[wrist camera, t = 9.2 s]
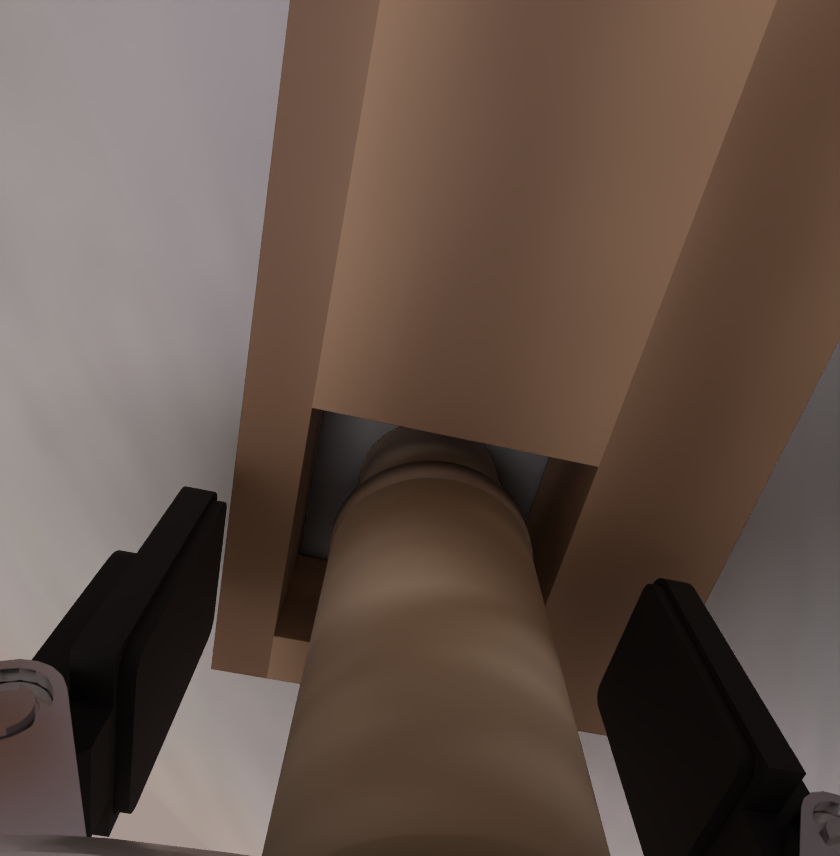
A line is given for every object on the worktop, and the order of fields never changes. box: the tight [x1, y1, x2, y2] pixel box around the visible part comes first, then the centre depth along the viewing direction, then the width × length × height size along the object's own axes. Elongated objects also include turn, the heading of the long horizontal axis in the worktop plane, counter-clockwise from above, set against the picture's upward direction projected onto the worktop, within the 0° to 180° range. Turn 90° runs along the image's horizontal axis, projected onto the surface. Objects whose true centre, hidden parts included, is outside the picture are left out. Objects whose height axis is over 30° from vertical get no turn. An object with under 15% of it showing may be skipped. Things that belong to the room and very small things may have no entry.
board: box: [211, 0, 840, 736], centre depth 13 cm, size 10×16×3 cm, turn 167°
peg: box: [262, 426, 610, 856], centre depth 11 cm, size 4×4×10 cm
